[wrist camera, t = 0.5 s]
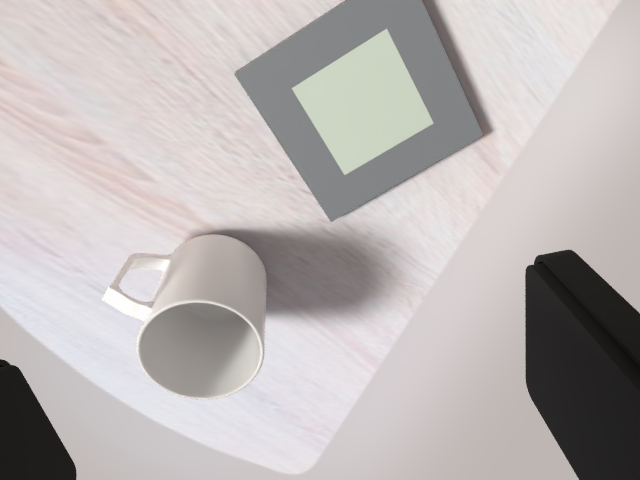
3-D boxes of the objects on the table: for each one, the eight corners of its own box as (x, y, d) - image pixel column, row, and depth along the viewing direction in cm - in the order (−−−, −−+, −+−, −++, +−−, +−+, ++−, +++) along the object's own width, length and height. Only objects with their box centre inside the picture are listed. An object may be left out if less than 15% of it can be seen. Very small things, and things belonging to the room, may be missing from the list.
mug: (285, 258, 47) (287, 334, 37) (236, 328, 50) (226, 416, 40) (160, 191, 43) (125, 257, 33) (116, 272, 46) (71, 353, 36)
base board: (235, 71, 39) (234, 74, 38) (401, -37, 37) (405, -37, 36) (329, 215, 45) (331, 222, 44) (478, 131, 43) (483, 135, 42)
